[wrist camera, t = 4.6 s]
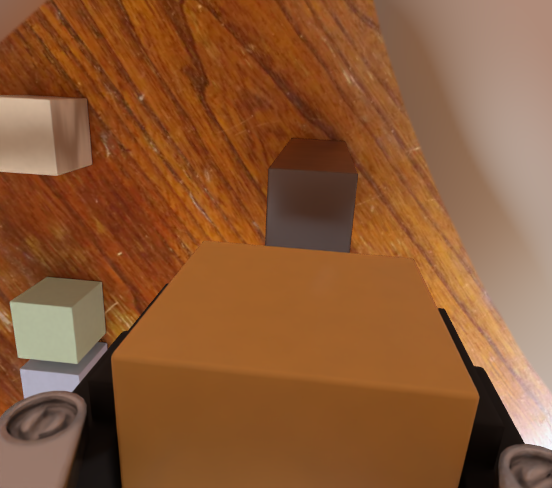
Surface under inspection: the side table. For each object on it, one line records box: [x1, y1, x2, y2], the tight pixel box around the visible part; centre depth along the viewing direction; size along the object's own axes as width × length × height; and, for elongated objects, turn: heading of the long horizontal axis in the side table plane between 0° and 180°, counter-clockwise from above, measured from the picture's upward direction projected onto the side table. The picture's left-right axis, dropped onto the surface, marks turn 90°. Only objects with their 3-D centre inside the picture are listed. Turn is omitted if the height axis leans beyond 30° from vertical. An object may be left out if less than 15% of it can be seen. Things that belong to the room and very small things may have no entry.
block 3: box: [20, 342, 107, 399], centre depth 40 cm, size 5×5×5 cm
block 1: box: [0, 95, 92, 176], centre depth 33 cm, size 5×5×5 cm
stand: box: [265, 138, 358, 253], centre depth 28 cm, size 6×4×14 cm, turn 177°
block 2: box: [10, 277, 106, 364], centre depth 38 cm, size 5×5×5 cm
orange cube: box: [111, 241, 479, 488], centre depth 9 cm, size 5×5×5 cm
